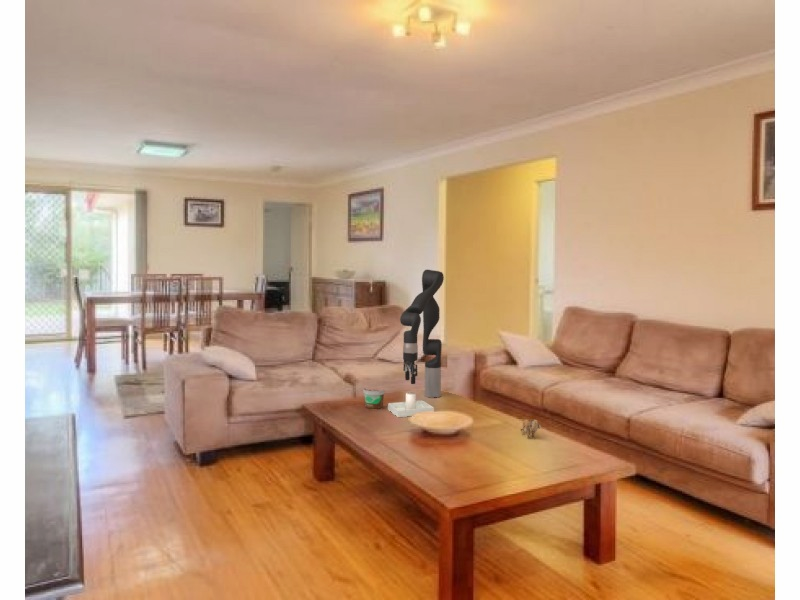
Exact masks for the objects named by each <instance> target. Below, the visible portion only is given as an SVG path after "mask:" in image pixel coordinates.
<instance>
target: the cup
mask: <svg viewBox="0 0 800 600" xmlns="http://www.w3.org/2000/svg"><path fill="white" fill-rule="evenodd" d="M416 394H417V393H416V392H412V391H409V392H406V393H405V402H406V410H410V409H416V401H417V399H416V398H417V395H416Z"/></svg>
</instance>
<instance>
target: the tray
mask: <svg viewBox="0 0 800 600" xmlns="http://www.w3.org/2000/svg"><path fill="white" fill-rule="evenodd" d="M387 410H388V411H389V412H390V411H391V412H392V413H391V412H390V413H391V414H392V415H393V416H395V415H396V416H397V417H403V418H408V417H407V416H411V415H413V414H415V413H419V412H425V411H434V412H435V407H434V406H432V404H431V405H430V404H429V403H428V402H426V401H424V400H422V399H420V400H416V409H410V410H406V401H400V402H388V404H387ZM396 416H395V417H396ZM397 417H396V418H397Z"/></svg>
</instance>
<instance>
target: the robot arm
mask: <svg viewBox="0 0 800 600" xmlns="http://www.w3.org/2000/svg"><path fill="white" fill-rule="evenodd" d="M444 277H445V276H444V273H443V272H442V271H439V270H432V269H425V270H424V271H423V272H422V275H421V286H422V287H421V288H422V292H420V293H418V295H416V296H415V298H414V299H413V301H412V302H411V304H410V305H409V307H407V308H406V309H405V310H404V311H403V312H402V313H401V316H400V318H399V320H400V325H402V326H405V327H411V328H410V329H409V330H405V331H404V332H403V345H402V359H403V372H404V373H405V374H404V379H405V381H410V384H411V385H416V377H418V364H416V363H415V362H416V361H418V360H419V359H418V358H419V357H418V354H419V351H418V348H419V347H418V333H419V330H420V325H421V323H422V322H423V333H422V334H423V335H422V353H423V355H425V356H434V357H433V358H431V359H429V360H426V361H425V362H424V397H426V398H429V397H430V399H431V398H433V399H434V397H437V398H440V397H441V393H442V390H441V389H442V388H441V387H442V386H441V385H442V348H443V347H442V345H443V344H442V340H441V339H437V338H436V339H435V338H430V335H431V333H432V331H433V330H434V329H435V328H436V326H437V324H438V323H439V321H440V306H439V304H438V302H437V301H436V299H435V297H434V296H435V294H436V293H437V292H438V291H439V290H440V288H441V286H442V285H443V283H444V280H445V278H444ZM421 314H422V318H423V319H422V318H421ZM422 320H423V321H422ZM421 321H422V322H421Z"/></svg>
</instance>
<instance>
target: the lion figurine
mask: <svg viewBox="0 0 800 600" xmlns="http://www.w3.org/2000/svg"><path fill="white" fill-rule="evenodd" d="M541 427H542V424H540V422H538V420H537V419H531V420H529V419H524V420H523V422H522V428H521V429H520V431H521V435H523V436H524V435H525V433H526V434H527V436H526V439H527V440H531V439H536V438H535V437H536V436H535V433H536V432H537V431H538V430H540V428H541ZM530 434H531V435H530ZM530 436H531V437H530Z"/></svg>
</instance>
